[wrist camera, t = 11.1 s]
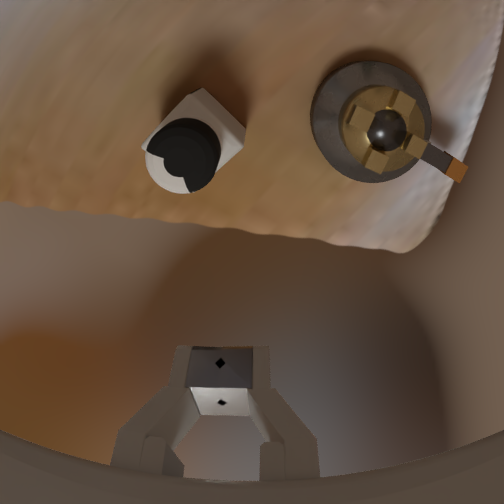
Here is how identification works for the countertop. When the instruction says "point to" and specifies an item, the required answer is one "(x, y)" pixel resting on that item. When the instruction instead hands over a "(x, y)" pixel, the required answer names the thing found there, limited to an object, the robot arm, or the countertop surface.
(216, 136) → the medicine bottle
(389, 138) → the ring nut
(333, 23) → the countertop surface
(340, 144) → the plate
